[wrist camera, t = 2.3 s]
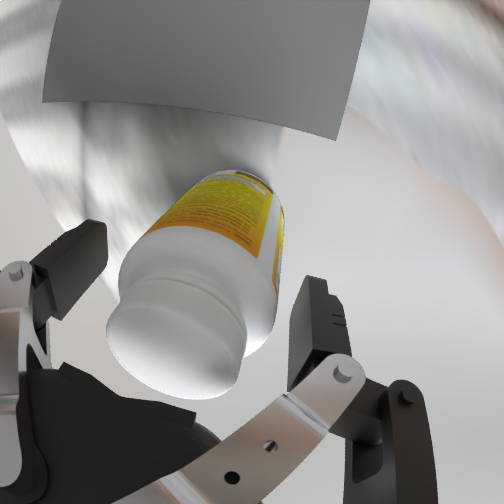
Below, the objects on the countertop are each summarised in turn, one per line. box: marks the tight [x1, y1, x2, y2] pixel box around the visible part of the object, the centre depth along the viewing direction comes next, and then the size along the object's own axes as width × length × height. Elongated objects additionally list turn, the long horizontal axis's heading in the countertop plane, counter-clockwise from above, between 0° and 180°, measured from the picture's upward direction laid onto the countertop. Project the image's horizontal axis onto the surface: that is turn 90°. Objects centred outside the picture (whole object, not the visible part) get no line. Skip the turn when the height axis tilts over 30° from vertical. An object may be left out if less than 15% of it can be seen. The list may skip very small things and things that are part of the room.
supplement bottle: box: [106, 170, 284, 399], centre depth 12 cm, size 6×6×10 cm
